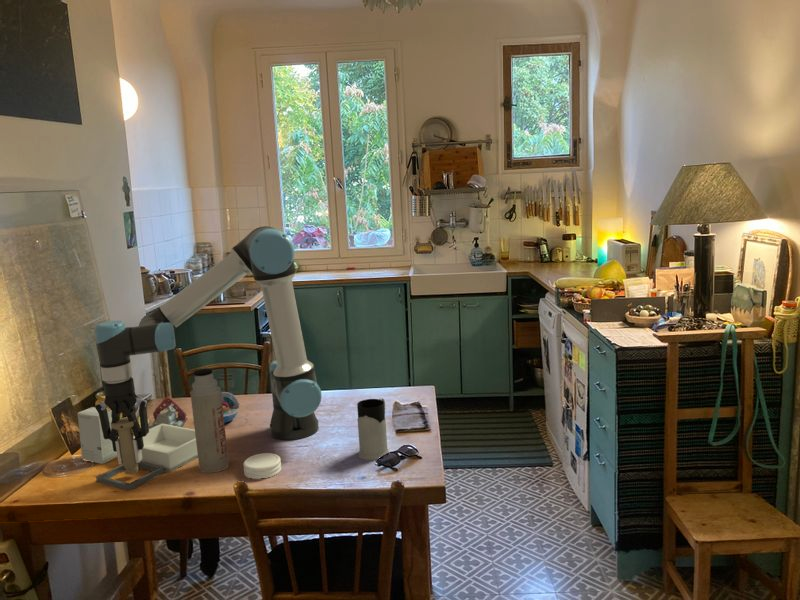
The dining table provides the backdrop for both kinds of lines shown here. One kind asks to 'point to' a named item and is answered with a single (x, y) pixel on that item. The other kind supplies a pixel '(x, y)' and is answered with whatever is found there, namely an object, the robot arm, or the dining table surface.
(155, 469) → the rectangular frame
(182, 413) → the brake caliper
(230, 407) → the cell model
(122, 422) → the handle
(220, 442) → the thermos bottle
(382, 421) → the white and black cylinder
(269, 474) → the coaster
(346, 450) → the dining table surface
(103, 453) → the skincare box
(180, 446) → the parts bin
